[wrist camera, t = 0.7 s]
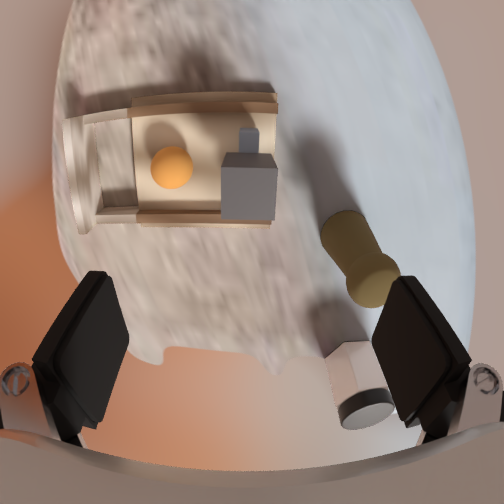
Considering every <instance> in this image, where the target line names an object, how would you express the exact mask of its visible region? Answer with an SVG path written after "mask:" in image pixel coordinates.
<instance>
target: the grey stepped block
mask: <svg viewBox="0 0 504 504" xmlns="http://www.w3.org/2000/svg"><path fill="white" fill-rule="evenodd" d="M259 134H260V133H259V130H258V128H240V131H239V153H237V152H226V155H225V157H224V160H223V163H222V165H221V219H231V220H275V206H276V191H277V176H278V168H277V166H276V163H275V161H274V159H273V157H272V154H270V153H259Z"/></svg>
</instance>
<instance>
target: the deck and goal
mask: <svg viewBox="0 0 504 504" xmlns="http://www.w3.org/2000/svg"><path fill="white" fill-rule="evenodd" d="M131 105H132V108H124V109H117V110H111V111H104V112H98V113H93V114H87V115H82V116H77V117H73V118H68V119H64V120H62V127H63V140H64V150H65V159H66V167H67V174H68V181H69V187H70V193H71V199H72V204H73V209H74V214H75V219H76V224H77V228H78V233H79V234H87V233H88V232H89V231H90V230H91V229H92V228H93V227H94V226H95V225H96V224H113V223H141V227H212V228H264V229H270V225H271V220H231V219H221V165H222V163H223V160H224V157H225V155H226V152H237V153H239V131H240V128H258V130H259V133H260V134H259V153H270V154H272V157H273V159H274V150H275V131H276V114H278V103H277V93H266V92H191V93H175V94H163V95H152V96H143V97H135V98H131ZM125 118H132V134H133V151H134V164H135V176H136V186H137V196H138V204H139V206H127V207H104V204H103V197H102V191H101V183H100V175H99V167H98V157H97V147H96V134H95V123H97V122H103V121H110V120H117V119H125ZM170 146H175V147H180V148H182V149H184V150H185V151H186V152H187V153H188V154H189V155H190V157H191V159H192V162H193V172H192V175H191V177H190V179H189V180H188V182H187V183H185V184H184V185H183V186H181V187H179V188H176V189H166V188H163V187H161V186H159V185H158V184H157V183H156V182H155V181H154V180H153V178H152V175H151V171H150V166H151V162H152V159H153V157H154V156H155V154H156V153H157V152H158V151H160V150H161V149H163V148H166V147H170Z"/></svg>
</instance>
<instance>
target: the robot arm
mask: <svg viewBox="0 0 504 504" xmlns="http://www.w3.org/2000/svg"><path fill="white" fill-rule="evenodd" d="M128 344H129V333H128V330H127V327H126V324H125V321H124V318H123V315H122V312H121V308H120V305H119V302H118V298H117V295H116V291H115V288H114V284H113V280H112V278H111V277H110V276H108V275H107V273H106V272H104V271H89V272H88V273H87V274H86V275H85V277H84V278H83V280H82V281H81V282H80V284H79V285H78V287H77V288H76V289H75V291H74V292H73V294H72V295H71V297H70V298H69V300H68V301H67V303H66V304H65V306H64V307H63V309H62V310H61V312H60V313H59V315H58V316H57V318H56V320H55V321H54V323H53V324H52V326H51V327H50V329H49V331H48V332H47V334H46V335H45V337H44V339H43V341H42V342H41V344H40V345H39V347H38V349H37V351H36V352H35V354H34V356H33V358H32V361H33V362H34V363H33V365H32V366H30V365H29V364H26V363H24V362H23V363H22V362H17V363H14V364H11V365H10V366H8V367H7V368H6V369H5V370H4V371H3V372H2V374H1V375H0V504H504V391H503V384H502V380H501V377H500V376H499V374H498V372H497V371H496V370H495V369H494V368H492V367H491V366H489V365H487V364H483V363H478V364H476V365H474V366H473V367H472V368H471V369H470V367H469V364H470V362H471V361H472V359H471V358H470V356H469V354H468V353H467V351H466V349H465V348H464V346H463V345H462V343H461V341H460V340H459V338H458V337H457V335H456V334H455V332H454V331H453V329H452V328H451V326H450V325H449V323H448V322H447V320H446V319H445V317H444V316H443V314H442V313H441V311H440V310H439V308H438V307H437V306H436V304H435V303H434V301H433V300H432V299H431V297H430V296H429V294H428V293H427V292H426V290H425V289H424V288H423V286H422V285H421V284H420V282H419V281H418V280H417V278H416V277H415V276H399V277H398V278H397V279H396V280H394V281H393V282H392V285H391V288H390V291H389V293H388V296H387V299H386V302H385V305H384V307H383V310H382V313H381V315H380V318H379V321H378V323H377V326H376V328H375V331H374V333H373V336H372V346H373V349H374V351H375V354H376V356H377V359H378V361H379V364H380V367H381V369H382V372H383V374H384V377H385V380H386V382H387V385H388V387H389V390H390V393H391V396H392V398H393V401H394V404H395V407H396V410H397V412H398V415H399V418H400V420H401V421H404V422H405V426H406V428H409V427H413V426H416V425H419V424H420V423H421V426H422V431H421V434H420V436H419V439H418V442H417V444H416V446H415V447H412V448H409V449H405V450H402V451H398V452H394V453H391V454H387V455H383V456H378V457H374V458H369V459H364V460H360V461H355V462H349V463H343V464H337V465H330V466H323V467H316V468H306V469H296V470H295V469H294V470H280V471H244V472H243V471H214V470H201V469H189V468H180V467H172V466H165V465H158V464H152V463H146V462H140V461H135V460H130V459H126V458H121V457H117V456H113V455H109V454H104V453H100V452H96V451H93V450H89V449H88V448H87V446H86V444H85V442H84V440H83V437H82V435H81V433H80V432H81V429H82V426H85V427H89V428H92V429H96V427H97V424H98V422H101V421H102V420H103V418H104V415H105V411H106V407H107V405H108V402H109V398H110V396H111V393H112V389H113V386H114V383H115V381H116V378H117V375H118V372H119V369H120V366H121V363H122V360H123V358H124V355H125V352H126V350H127V347H128Z"/></svg>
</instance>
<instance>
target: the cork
mask: <svg viewBox="0 0 504 504" xmlns="http://www.w3.org/2000/svg"><path fill="white" fill-rule="evenodd" d="M321 243H322V246H323V247H324V249H325V250H326V251H327V253H328V254H329V255H330V257H331V258H332V259H333V260H334V262H335V263H336V264H337V265H338V267H339V268H340V269H341V271H342V272H343V273H344V275H345V276H346V286H347V290H348V293H349V295H350V297H351V298H352V299H353V301H354V302H355V303H357V304H359V305H360V306H362V307H366V308H377V307H380V306H382V305H385V302H386V299H387V296H388V293H389V291H390V288H391V285H392V282H393V281H394V280H396V279H397V278H398V277H399V276H401V273H400V270H399V268H398V266H397V264H396V262H395V261H394V260H393V259H392V258H390V257H389V256H388V255H386V254H384V253H382V251H381V249H380V247H379V245H378V243H377V241H376V239H375V237H374V235H373V233H372V231H371V229H370V227H369V225H368V223H367V221H366V220H365V218H364V217H363V216H362V215H361V214H359V213H357V212H354V211H341V212H338V213H336V214H334V215H333V216H331V217H330V218H329V219H328V220H327V221H326V223H325V224H324V226H323V228H322V231H321Z"/></svg>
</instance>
